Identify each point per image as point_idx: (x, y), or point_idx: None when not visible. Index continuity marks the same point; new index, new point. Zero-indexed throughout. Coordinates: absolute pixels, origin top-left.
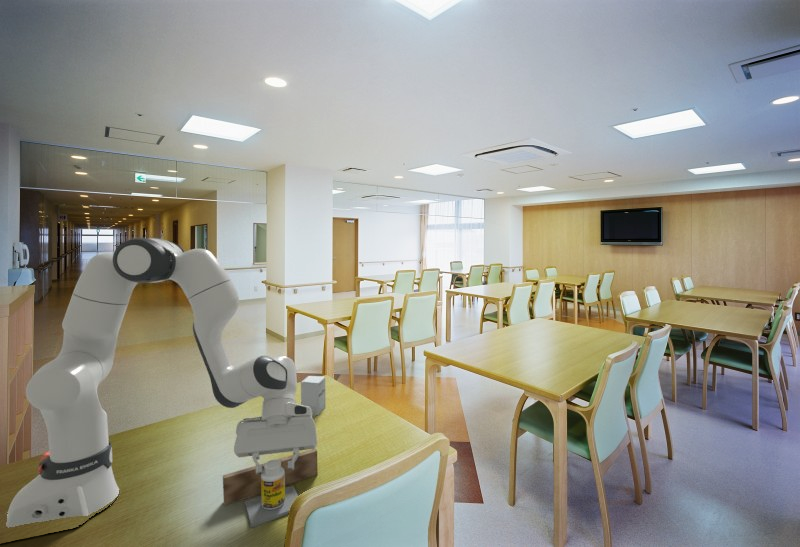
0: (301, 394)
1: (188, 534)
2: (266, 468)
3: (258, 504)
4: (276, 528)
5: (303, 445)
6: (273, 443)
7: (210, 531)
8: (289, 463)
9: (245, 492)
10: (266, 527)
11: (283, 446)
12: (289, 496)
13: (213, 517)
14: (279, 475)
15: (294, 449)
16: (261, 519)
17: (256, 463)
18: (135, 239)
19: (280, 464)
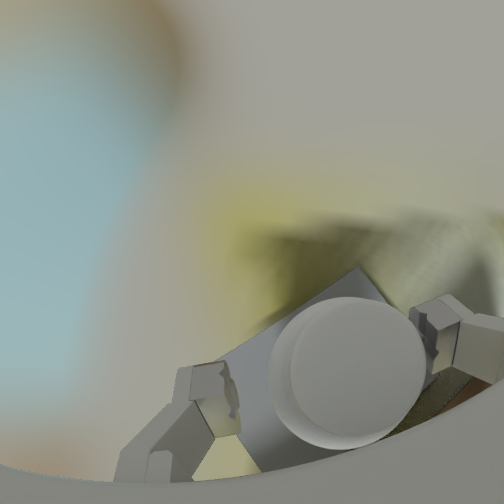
0: None
1: (497, 234)
2: (386, 304)
3: None
4: (268, 274)
5: (51, 476)
6: (450, 475)
7: (460, 247)
8: (210, 382)
9: (457, 404)
10: (305, 276)
11: (283, 483)
12: (269, 424)
13: (488, 299)
14: (284, 336)
15: (155, 478)
16: (333, 291)
17: (480, 317)
18: None
19: (291, 373)
